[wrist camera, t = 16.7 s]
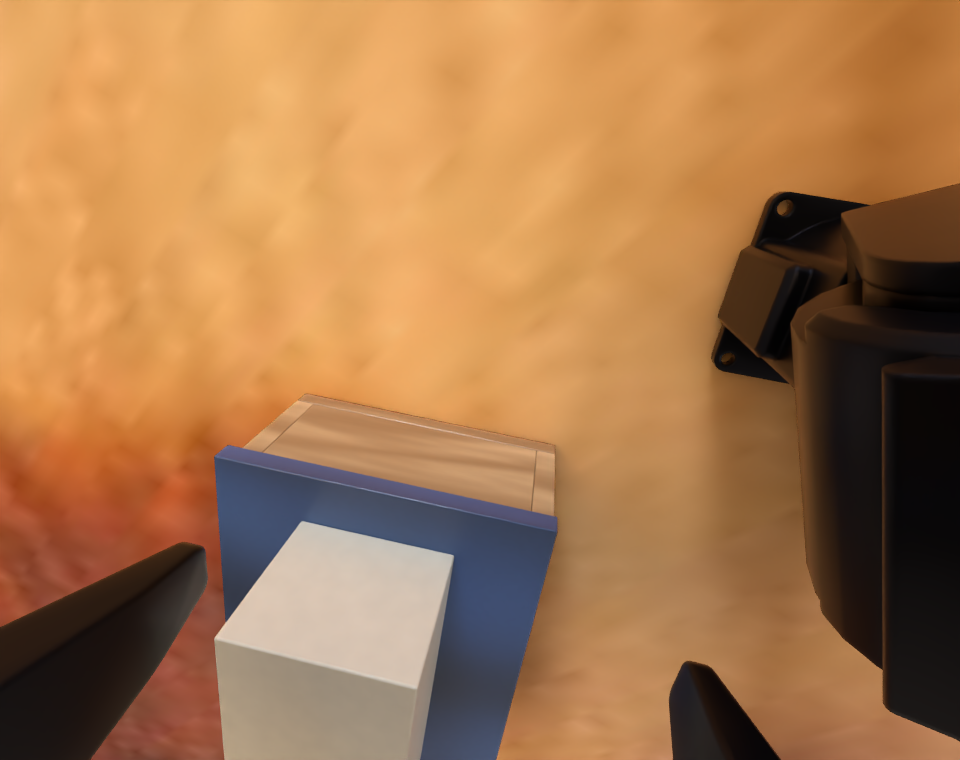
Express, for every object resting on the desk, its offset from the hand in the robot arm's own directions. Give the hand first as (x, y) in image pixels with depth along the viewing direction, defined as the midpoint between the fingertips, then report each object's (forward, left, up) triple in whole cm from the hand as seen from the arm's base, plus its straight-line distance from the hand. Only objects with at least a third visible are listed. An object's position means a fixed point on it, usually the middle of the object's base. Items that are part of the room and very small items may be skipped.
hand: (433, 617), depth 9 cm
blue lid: (+3, +10, -7) cm, 12 cm away
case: (+3, +10, -6) cm, 12 cm away
